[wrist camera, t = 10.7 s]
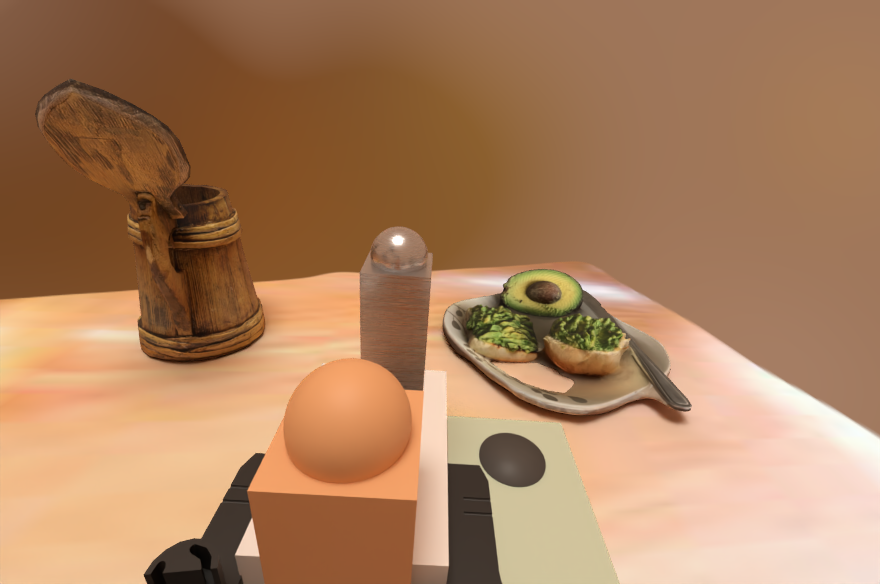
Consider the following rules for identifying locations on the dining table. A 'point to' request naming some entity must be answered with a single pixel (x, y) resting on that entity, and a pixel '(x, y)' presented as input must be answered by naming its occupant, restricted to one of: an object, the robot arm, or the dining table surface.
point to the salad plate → (561, 345)
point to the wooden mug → (161, 223)
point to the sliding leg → (341, 480)
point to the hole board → (534, 501)
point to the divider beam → (396, 305)
